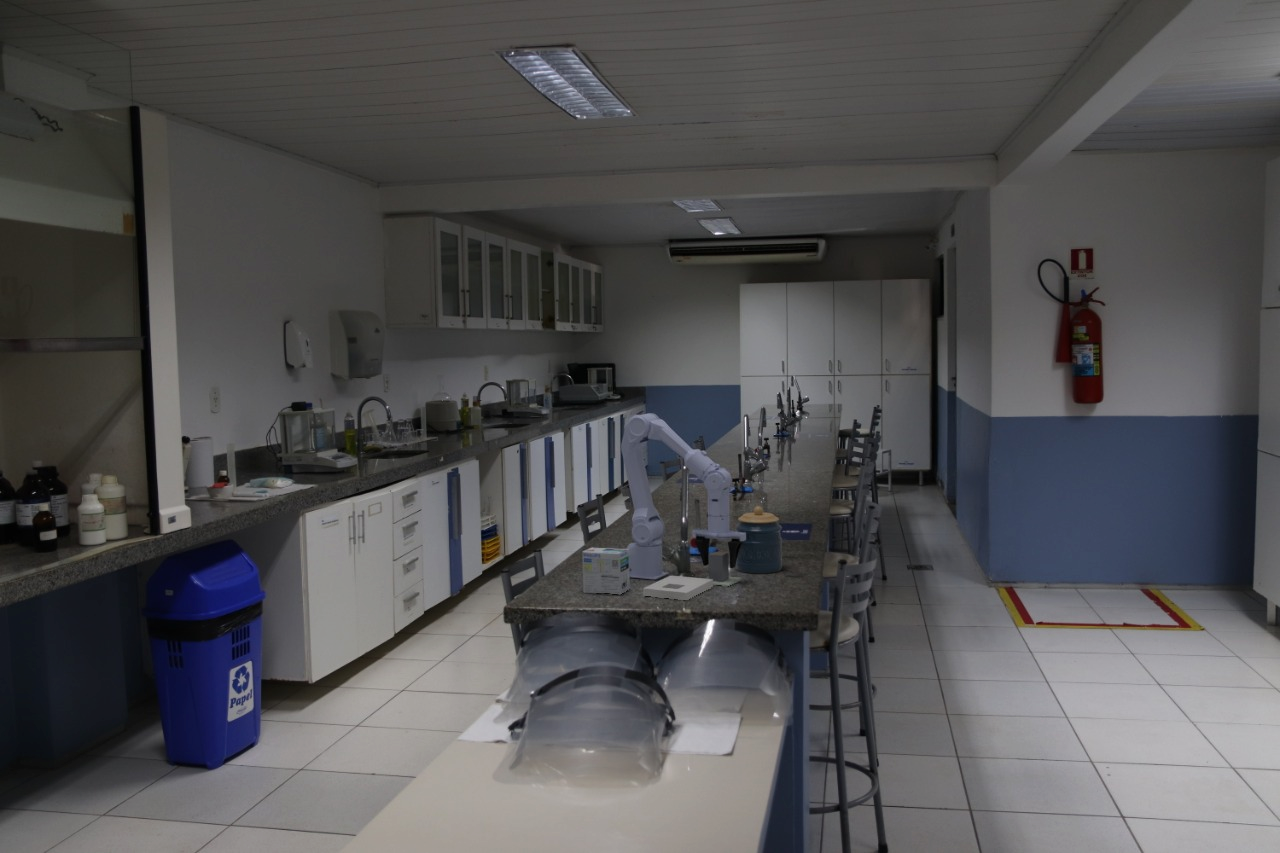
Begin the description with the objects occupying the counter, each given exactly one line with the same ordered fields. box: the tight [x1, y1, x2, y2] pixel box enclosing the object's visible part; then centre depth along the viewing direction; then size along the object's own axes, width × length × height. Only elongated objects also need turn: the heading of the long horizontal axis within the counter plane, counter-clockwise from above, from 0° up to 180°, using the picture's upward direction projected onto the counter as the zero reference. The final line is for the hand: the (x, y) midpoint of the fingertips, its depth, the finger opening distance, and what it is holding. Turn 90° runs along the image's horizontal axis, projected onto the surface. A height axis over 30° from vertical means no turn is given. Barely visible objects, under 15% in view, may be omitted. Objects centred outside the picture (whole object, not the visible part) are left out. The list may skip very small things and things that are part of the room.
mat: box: [703, 575, 743, 587], centre depth 266 cm, size 9×9×1 cm
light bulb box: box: [581, 546, 631, 595], centre depth 257 cm, size 11×7×11 cm, turn 71°
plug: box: [708, 551, 730, 582], centre depth 265 cm, size 4×4×7 cm
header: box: [642, 575, 714, 601], centre depth 255 cm, size 12×16×2 cm
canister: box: [734, 505, 783, 574], centre depth 280 cm, size 13×13×18 cm
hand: (719, 566), depth 266 cm, fingers open, 7 cm apart
